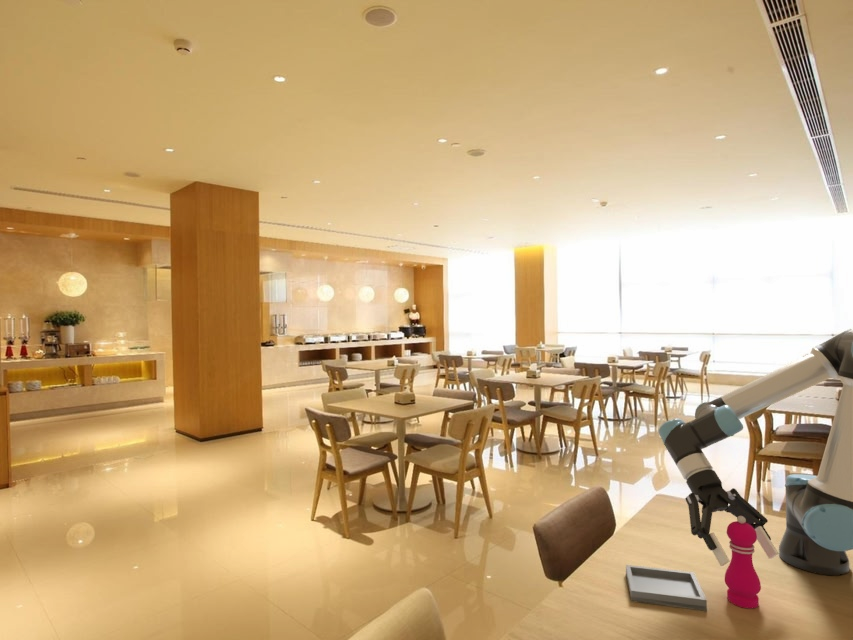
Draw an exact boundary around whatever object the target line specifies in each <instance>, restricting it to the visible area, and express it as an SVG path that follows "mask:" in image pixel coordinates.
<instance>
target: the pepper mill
mask: <svg viewBox="0 0 853 640" xmlns="http://www.w3.org/2000/svg"><path fill="white" fill-rule="evenodd" d="M745 522H746V519H745V518H744V517H743V516H738V517H736V521H731V522H730V523H729V524H728V525H727V528H726V535H727V537H728V539H729V546H728V547H729V549H730V550H731V560H730V562H729V565H728V567H727V569H726V570H725V574H724V583H725V585H726V586H727V587H728V588H727V591H726V595H727V596H726V597H727V599H728V601H729V602H730V603H731V604H733V605H735V606H737V607H740V608H743V609H744V608H745V609H756V608H758V607H759V603H760V602H759V600H760V599H759V596H758V594H759V593H760V592H761V590H762V586H761V585H762V584H761V580H760V578H759V576H758V573H757V571H756V569H755V567H754V563H753V554H754V553H755V543H756V542H757V541H758V540H757V534H756V531H755V529H754V528H753V527H752V526H751V525H749V524H748V523H745Z"/></svg>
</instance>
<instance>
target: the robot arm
mask: <svg viewBox="0 0 853 640" xmlns="http://www.w3.org/2000/svg"><path fill="white" fill-rule="evenodd" d="M829 379H833V380H838V379H839V380H840V382H841V383H842V389H841V392H840V396H839V399H838V402H837V406H836V409H835V413H834V417H833V419H832V420H833V421H832V423H831V427H830V431H829V434H828V438H827V441H826V445H825V449H824V452H823V455H822V459H821V461H820V465H819V470H818V472H817V475H813V474H801V473H793V474H789V475H787V476H786V478H785V484H784V487H785V522H786V523H785V524H786V525H785V526H786V527H785V530H784V533H783V535H782V538H781V541H780V543H779V545H778V546H779V547H778V549H777V548H776V546H775V545H774V543H773V542H772V541H771V540H772V539H771V536H770V535H769V533H768V531H767V530H766V528H765V527H764V526H765V525H766V524H767V523H769V522H768V519H767V517H765V516H764V515H763V514H762V513H761V512H760V511H758V510H757V509H756V508H755V507H754V506H753V505H751V504H750V503H749V502H748V501H747V500H746V499H745V498H743V497H742V496H741V494H740V493H739V492H738V491H737V489H736V488H731V489H730V490H728V491H726V490H725V489H724V488H723V485H722V484H723V483H722V480H721V478H720V477H719V476H718V473H716V471H715V470H714V467H713V466H712V465H711V463H710V461H709V459H708V458H707V457H706V455H705V453H704V452H703V450H702V449H705V448H707V447H709V446H712V445H714V444H717V443H718V442H720V441H724V440H726V439H727V438H730V437H733V436H735V435H736V434H738V433H740V432H741V431H743V430H744V424H742V422H741V419H743V418H745V417H748V416H750V415H751V414H754V413H756V412H759V411H761V410H763V409H765V408H767V407H771V406H772V405H773V404H776V403H778V402H781V401H783V400H785V399H787V398H789V397H791V396H794V395H796V394H798V393H800V392H802V391H805V390H807V389H809V388H811V387H814V386H816V385H818V384H820V383H822V382H825V381H826V380H829ZM694 417H695V418H694V419H692V420H690V421H687V422H685V421H684V420H683V419H681V418H673V419H670V420H667V421H665V422H664V423H662V424H661V425H660V427H659V429H658V435H659V436H660V439H661V440H662V443H663V445H664V447H665V449H666V451H667V452H668V453H669V456H670V457H671V459H672V460H673V462H674V463H675V465H676V467H677V469H678V470H679V472H680V475H682V477H683V479H684V480H685V481H686V482H685V483H686V485H687V486H688V488H689V490H690V493H689V494H688V495H687V496H686V497H685V502H686V504H687V506H688V513H689V514H688V515H689V523H690V532H691V534H692V536H697V537H698V538H699V539H701V540H703V541H704V543H705V544H706V546H707V548H708V550H709V551H712V553H713V555H714V557H715V559H716V560H717V563H718V564H719V566H720V567H723V566H725V565H726V564H728V563H730V562H731V560H730V559H729V557H728V555H727V554H726V552H725V550H724V549H723V546H722V545H721V543H720V541H719V539H718V537H717V536H716V534H715V533H714V532H711V525H712V518H713V513H716V512H726V513H730V514H731V515H732V516H734V517H736V518H737V517H738V516H743V517H744V518H745V519H746V522H745V523H748V524H749V525H751V526H752V527H753V528H754V529H755V531H756V534H757V540H756V541H758V543H759V544H760V547H761V548H762V549H763V551H764V553H765V554H766V556H767V558H768V559H772V558H774V557H776V556H778V555H779V558H780V559H781V560H782V561H784V562H785V563H787V564H789V565H791V566H792V567H794V568H797V569H799V570H802V571H805V572H809V573H814V574H818V575H826V576H841V575H840V574H843V575H846V574H848V573H849V572H850V560H849V556H848V555H847V552H848V551H851V550H853V327H851V328H849V329H847V330H844V331H843V332H841V333H838V334H836V335H835V336H833V337H831V338H829V339H828V340H826V341H823V342H822V343H820V344H818V345H816V346H814V347H812V348H811V351H810V353H809V354H807V355H805V356H802V357H800V358H799V359H798V358H797V359H796V360H794V361H791V362H790V363H787V364H786V365H783V366H781V367H780V368H778V369H775V370H773V371H771V372H769V373H766V374H764V375H763V376H761V377H759V378H757V379H755V380H752V381H751V382H748V383H746V384H745V385H742V386H740V387H738V388H736V389H734V390H732V391H730V392H728V393H725V394H723V395H721V396H720V397H718V398H716V399H713V400H711V401H704V402H702V403H700V404H699V405H697V407H696V408H695V412H694ZM699 504H701V506H702V507H701V512H700V506H699ZM700 513H701V514H700ZM845 573H846V574H845Z"/></svg>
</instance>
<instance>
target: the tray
mask: <svg viewBox="0 0 853 640" xmlns="http://www.w3.org/2000/svg"><path fill="white" fill-rule="evenodd" d="M696 576H697V575H696V573H695V572H694V571H693V572H692V571H686V570H685V571H684V570H676V569H667V568H657V567H649V566H641V565H632V564H625V577H626V580H627V581H626V582H627V585H628V586H627V587H628V592H629V597H630V601H631V602H634V601H637V602H636V603H641V604H643V603H644V604H650V605H658V606H664V607H665V606H666V607H674V608H679V609H681V608H682V609H687V610H688V609H689V610H695V611H696V610H697V611H704V612H705V611H706V612H707V611H708V610H707V609H708V605H707V602H708V600H707V598H706V596H705V593H704V591H703V589H702V586H701V585H700V583H699V580H698V579H697V577H696Z"/></svg>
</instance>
